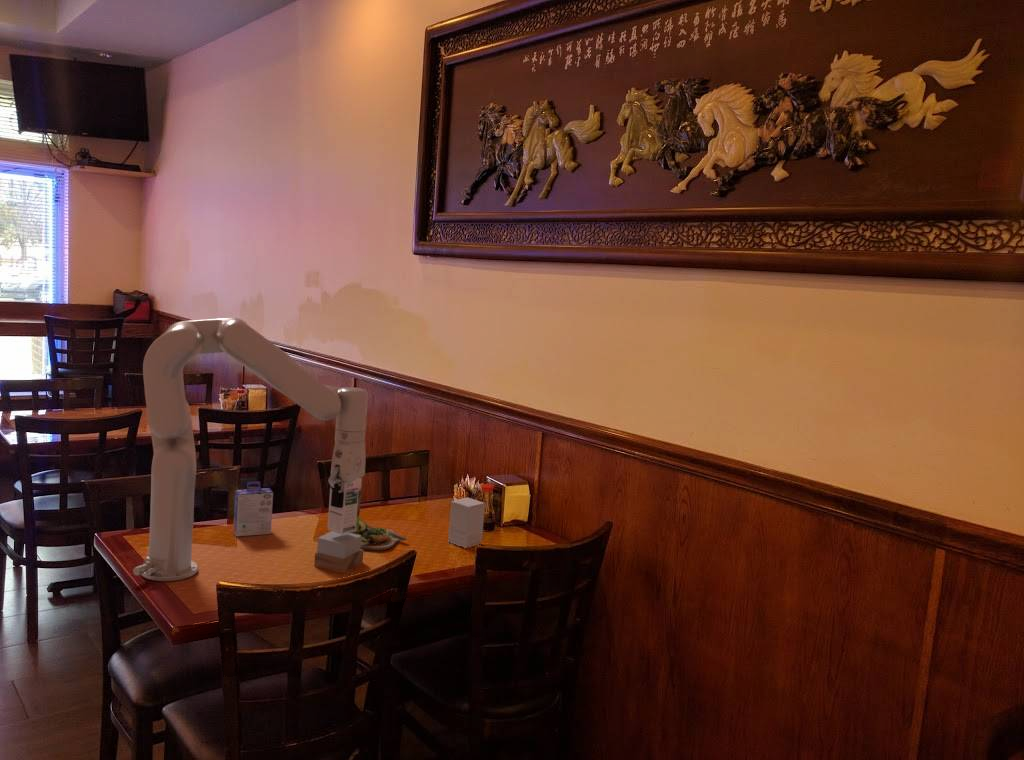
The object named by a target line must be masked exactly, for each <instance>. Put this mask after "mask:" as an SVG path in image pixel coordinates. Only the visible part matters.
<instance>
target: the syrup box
mask: <svg viewBox="0 0 1024 760" xmlns="http://www.w3.org/2000/svg"><path fill="white" fill-rule="evenodd" d="M338 479H339V480H342V479H341V478H338ZM362 481H363V477H358V478H357V479H356V480H354V481H352V482H349V483H345V482H344V488H343V491H342V492H344V499H343V507H342V508H338V507H333V506H331V497H332V491H331V487H329V499H328V501H329V503H328V515H327V516H328V517H327V519H328V520H327V530H329V531H330V532H331V531H333V532H336V533H338V534H341V535H342V534H345V533H349V532H354V531H358V527H359V519H360V511H361V510H360V509H361V496H362ZM337 484H338V485H339V487H340V484H341V483H339V482H337Z"/></svg>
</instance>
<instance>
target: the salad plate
mask: <svg viewBox="0 0 1024 760" xmlns="http://www.w3.org/2000/svg"><path fill="white" fill-rule="evenodd" d="M349 533H352V534H357V535H361V548H360V549H363V551H365V550H366V551H367V550H368V551H384V550H388V549H390V547H391V548H392V547H393V546H394V545H395V544H396V543H397V542H399V541H407V538H406V537H404V536H402V535H398V534H397V532H395V531H393V530H392V529H387V528H382V527H381V526H378V527H372V526H370V525H367V523H366V521H365V520H363V519H360V518H359V527H358V531H354V532H349ZM373 543H374V544H373ZM375 543H376V544H375ZM368 544H369V545H376V546H369V545H368ZM381 544H383V546H382V545H381Z"/></svg>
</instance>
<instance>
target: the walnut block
mask: <svg viewBox="0 0 1024 760" xmlns="http://www.w3.org/2000/svg"><path fill="white" fill-rule="evenodd" d="M363 557H364V550H363V549H360V551H358V552H356V553H354V554H353V555H351V556H349V557H347V558H345V559H341V558H337V557H332V556H328V555H324V554H320V553H317V551H316V552H314V561H313V562H314V564H313V566H314V568H320V569H323V570H328V571H332V572H337V573H341V574H347V573H349V572H350V571H352V570H353V569H355V568H357V567H358V566H360V565H361V564H363V561H364V558H363Z"/></svg>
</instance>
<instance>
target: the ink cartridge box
mask: <svg viewBox="0 0 1024 760" xmlns="http://www.w3.org/2000/svg"><path fill="white" fill-rule="evenodd" d="M253 484H254V485H257V486H250V485H253ZM273 501H274V491H273V490H272V489H271V488H270V487H266V488H265V487H264V488H262V487H261V481H259V480H258V481H257V480H256V481H246V489H236V490H235V491H234V510H233V511H234V513H233V515H234V517H233V528H232V532H233V534H234V536H235V537H247V536H257V535H258V536H259V535H270V534H272V520H273V503H274V502H273Z"/></svg>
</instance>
